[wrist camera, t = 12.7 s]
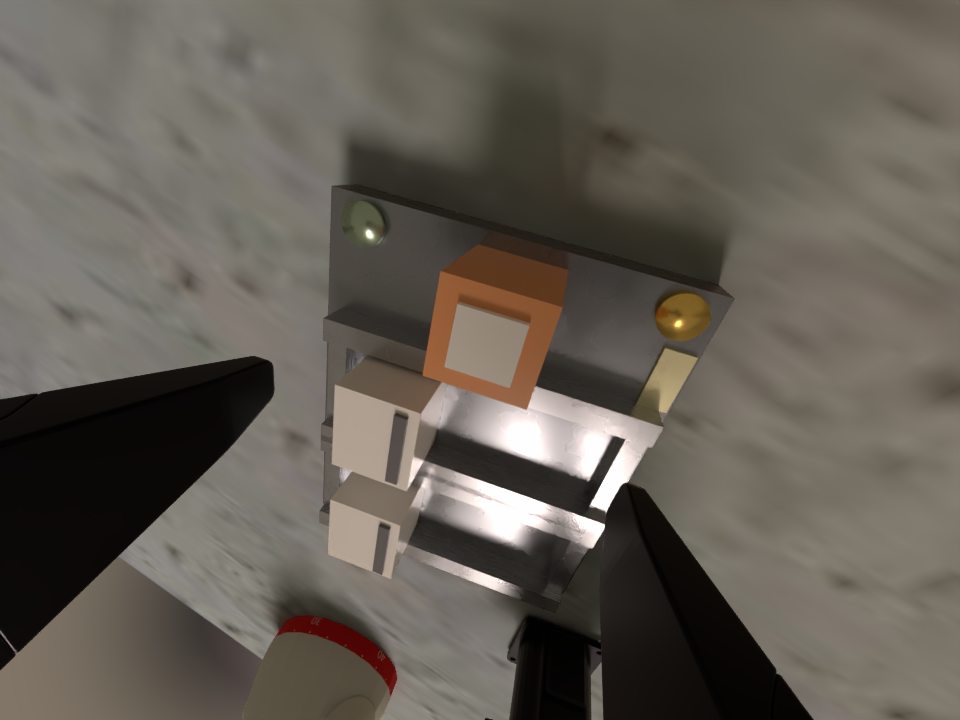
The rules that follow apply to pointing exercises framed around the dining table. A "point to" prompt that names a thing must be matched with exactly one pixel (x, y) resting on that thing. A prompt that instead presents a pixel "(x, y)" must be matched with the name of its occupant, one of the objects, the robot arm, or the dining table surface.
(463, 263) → the orange box
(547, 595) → the panel
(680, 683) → the robot arm
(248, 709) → the kitchen timer
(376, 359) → the block
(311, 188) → the dining table surface
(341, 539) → the block
